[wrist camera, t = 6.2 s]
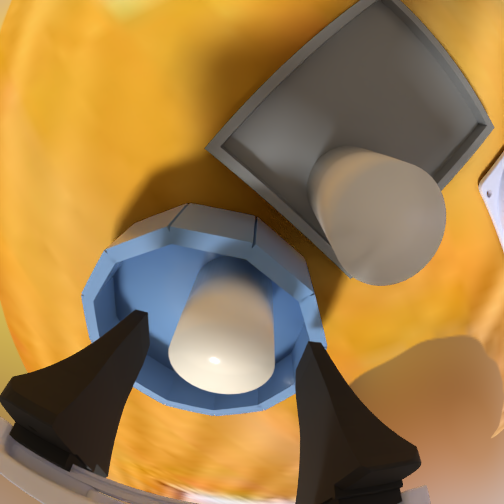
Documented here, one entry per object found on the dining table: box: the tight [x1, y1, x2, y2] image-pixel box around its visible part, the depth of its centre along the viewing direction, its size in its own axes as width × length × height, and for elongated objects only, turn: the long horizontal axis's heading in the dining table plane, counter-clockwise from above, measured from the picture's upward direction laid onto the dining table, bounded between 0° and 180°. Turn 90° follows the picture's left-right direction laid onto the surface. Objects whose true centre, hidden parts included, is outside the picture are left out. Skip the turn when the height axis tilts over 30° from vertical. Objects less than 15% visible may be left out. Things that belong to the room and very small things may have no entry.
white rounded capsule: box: [168, 256, 275, 394], centre depth 13 cm, size 4×4×6 cm
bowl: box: [81, 203, 327, 416], centre depth 16 cm, size 14×14×4 cm
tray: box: [205, 0, 494, 279], centre depth 12 cm, size 10×13×1 cm
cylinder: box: [307, 146, 446, 286], centre depth 11 cm, size 4×4×6 cm
